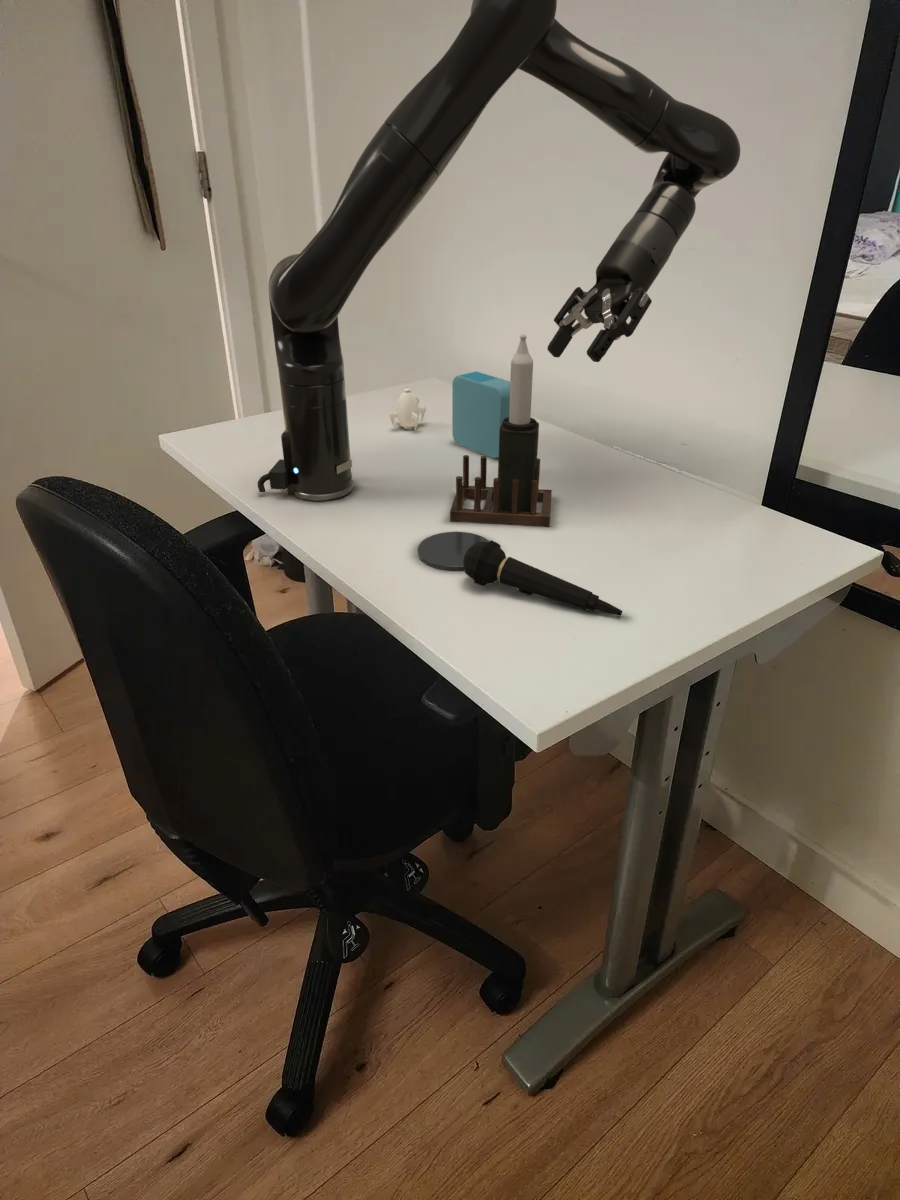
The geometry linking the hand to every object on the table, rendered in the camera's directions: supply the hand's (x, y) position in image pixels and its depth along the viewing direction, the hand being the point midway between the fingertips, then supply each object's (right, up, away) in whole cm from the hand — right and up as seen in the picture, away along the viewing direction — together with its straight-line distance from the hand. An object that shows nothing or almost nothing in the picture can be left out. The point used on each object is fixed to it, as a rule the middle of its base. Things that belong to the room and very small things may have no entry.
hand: (571, 356), depth 109 cm
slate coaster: (-16, -27, -4) cm, 31 cm away
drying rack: (-9, -20, +8) cm, 23 cm away
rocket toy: (-24, -2, +39) cm, 46 cm away
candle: (-7, -20, +8) cm, 23 cm away
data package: (-11, -7, +30) cm, 32 cm away
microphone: (-6, -33, -14) cm, 37 cm away
